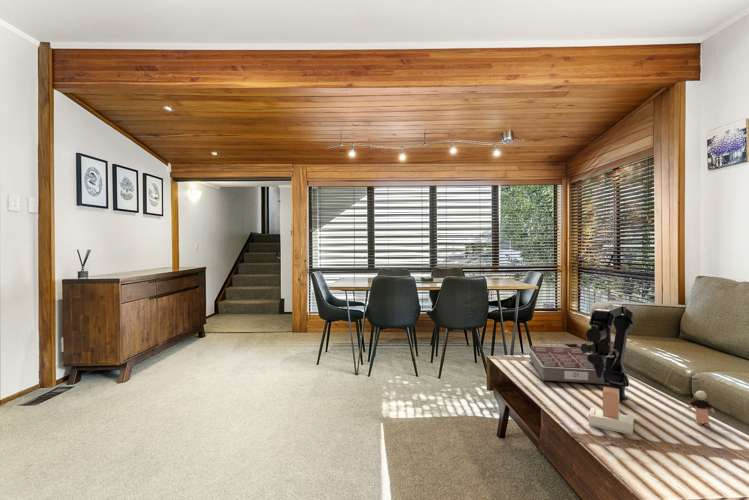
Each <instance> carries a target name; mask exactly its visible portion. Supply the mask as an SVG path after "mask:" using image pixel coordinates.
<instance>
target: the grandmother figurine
mask: <svg viewBox="0 0 749 500" xmlns="http://www.w3.org/2000/svg"><path fill="white" fill-rule="evenodd" d="M694 396H695V397H696V398H697V399H695V400H692V401H691V402H690V403H689V405H688V406H687V407H688V409H692V408H693V407H695V424H696V425H698V426H705V427H710V426H711V423H710V417H709V411H710V413H712V414H715V412H716V411H715V410H714V408H713V406H712V405H711V404H710V403H709V401H707V400H706V399H707V393H706V392H705V391H704V390H697V391H696V392H695V393H694ZM708 409H709V410H708Z"/></svg>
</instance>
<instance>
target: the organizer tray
mask: <svg viewBox="0 0 749 500" xmlns="http://www.w3.org/2000/svg"><path fill="white" fill-rule="evenodd" d="M580 349H581V347H564V346H547V345H546V346H545V345H530V347H529V348H528V350H529V360H530V362H531V364H532V365H533V367H534V368H535V370H536V371H537V373H538V374H539V376H540V377H541V379H542V381H552V382H553V381H555V382H568V383H569V382H570V383H586V384H600V385H601V384H603V385H608V383H605V382H604V377H603V373H602V376H601V378H598V377H597V374H596V371H595V368H594V366H593V364H592V363H590V362H589V361H587V356H588V355H589V354H590V352H587V353H583V351H582V350H580ZM604 369H605V368H604Z"/></svg>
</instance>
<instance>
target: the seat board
mask: <svg viewBox="0 0 749 500" xmlns="http://www.w3.org/2000/svg"><path fill="white" fill-rule="evenodd" d="M634 422H635V417H634V415H633V414H628V415H627V414H622V413H619V420H618V419H613V418H608V417H603V409H602V410H601V409H596V407H590V409H589V412H588V426H590V427H594V428H600V429H604V430H608V431H612V432H613V431H614V432H616V433H617V432H618V433H623V434H626V435H631V436H633V434H634Z"/></svg>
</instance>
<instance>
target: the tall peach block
mask: <svg viewBox="0 0 749 500" xmlns="http://www.w3.org/2000/svg"><path fill="white" fill-rule="evenodd" d="M602 411H603V417H608V418H613V419H618V420H619V414H620V400H619V389H616V388H610V387H608V386H603V389H602Z"/></svg>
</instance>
